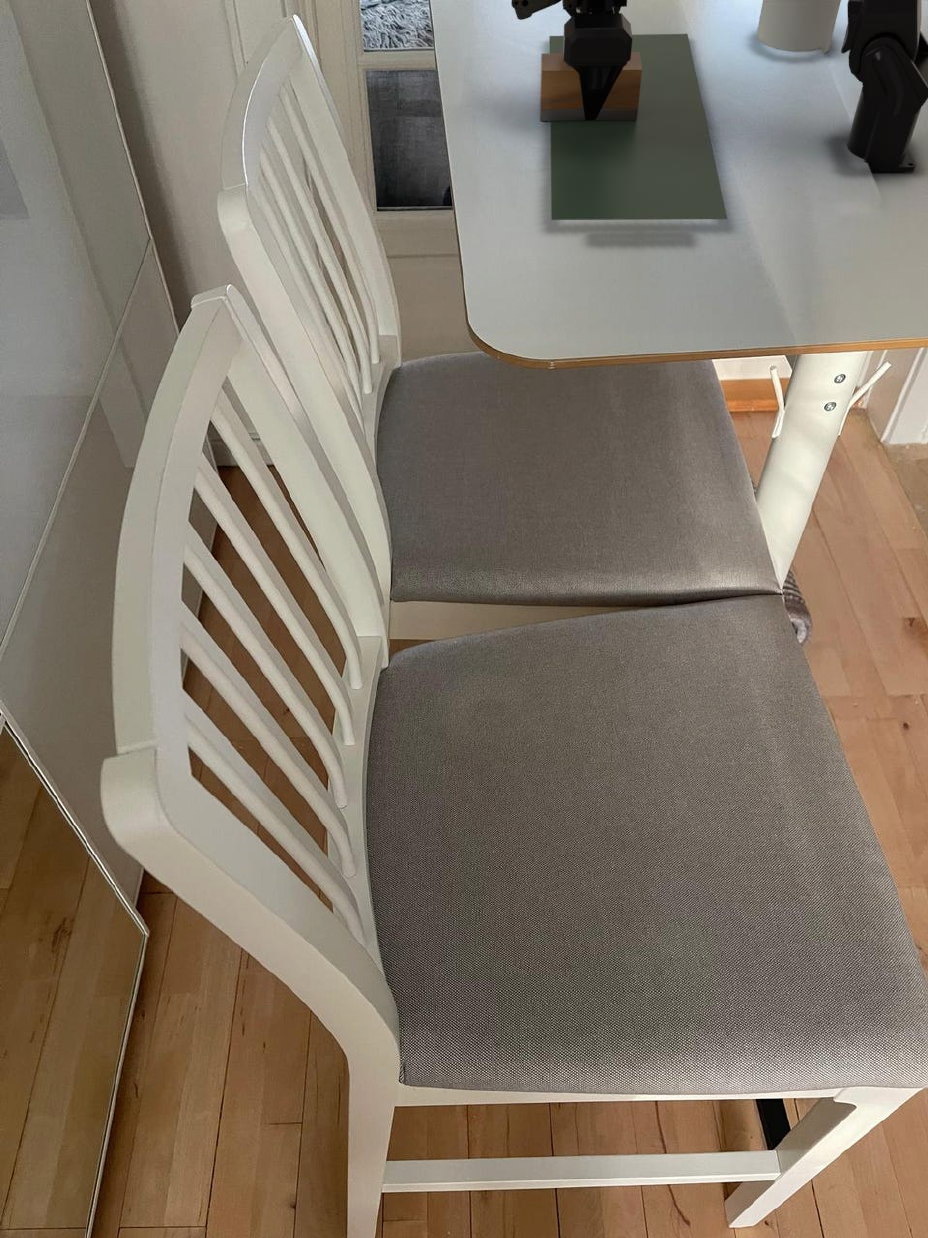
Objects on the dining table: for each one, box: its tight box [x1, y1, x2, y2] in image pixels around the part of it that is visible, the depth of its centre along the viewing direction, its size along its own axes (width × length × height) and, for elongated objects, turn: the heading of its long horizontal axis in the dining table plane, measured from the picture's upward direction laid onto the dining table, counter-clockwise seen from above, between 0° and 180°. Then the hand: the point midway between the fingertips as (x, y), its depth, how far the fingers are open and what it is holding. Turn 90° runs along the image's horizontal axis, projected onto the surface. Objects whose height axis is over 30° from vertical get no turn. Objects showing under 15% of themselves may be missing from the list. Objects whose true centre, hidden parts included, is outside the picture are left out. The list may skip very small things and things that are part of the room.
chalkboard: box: [548, 33, 728, 221], centre depth 103 cm, size 40×16×1 cm, turn 177°
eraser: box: [539, 52, 642, 122], centre depth 101 cm, size 4×10×5 cm, turn 87°
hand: (588, 98), depth 102 cm, fingers open, 9 cm apart
